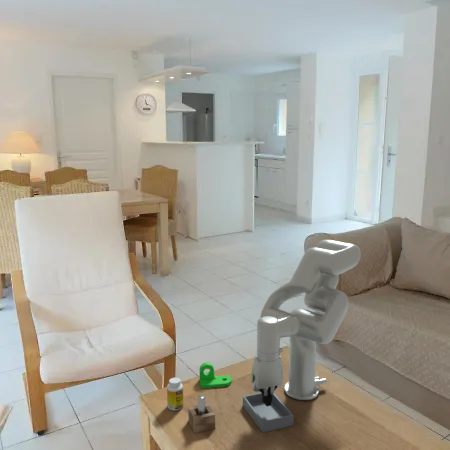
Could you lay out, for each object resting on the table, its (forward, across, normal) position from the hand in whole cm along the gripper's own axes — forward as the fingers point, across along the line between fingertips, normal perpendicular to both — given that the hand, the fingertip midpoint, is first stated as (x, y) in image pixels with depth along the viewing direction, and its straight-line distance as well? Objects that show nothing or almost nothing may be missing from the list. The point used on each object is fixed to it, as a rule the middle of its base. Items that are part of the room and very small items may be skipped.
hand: (267, 403), depth 156 cm
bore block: (+4, +22, -3) cm, 23 cm away
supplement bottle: (+5, +28, -16) cm, 33 cm away
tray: (+4, 0, 0) cm, 4 cm away
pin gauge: (+4, +22, -3) cm, 23 cm away
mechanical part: (+5, +10, -25) cm, 27 cm away
